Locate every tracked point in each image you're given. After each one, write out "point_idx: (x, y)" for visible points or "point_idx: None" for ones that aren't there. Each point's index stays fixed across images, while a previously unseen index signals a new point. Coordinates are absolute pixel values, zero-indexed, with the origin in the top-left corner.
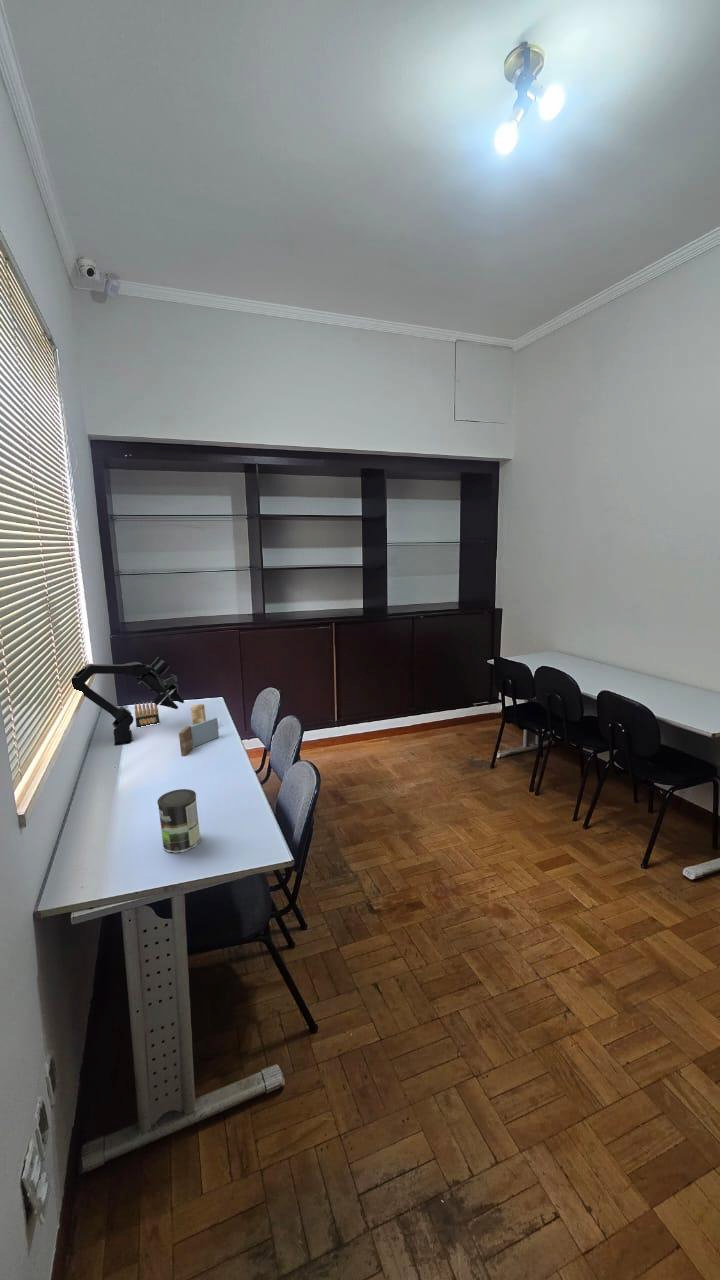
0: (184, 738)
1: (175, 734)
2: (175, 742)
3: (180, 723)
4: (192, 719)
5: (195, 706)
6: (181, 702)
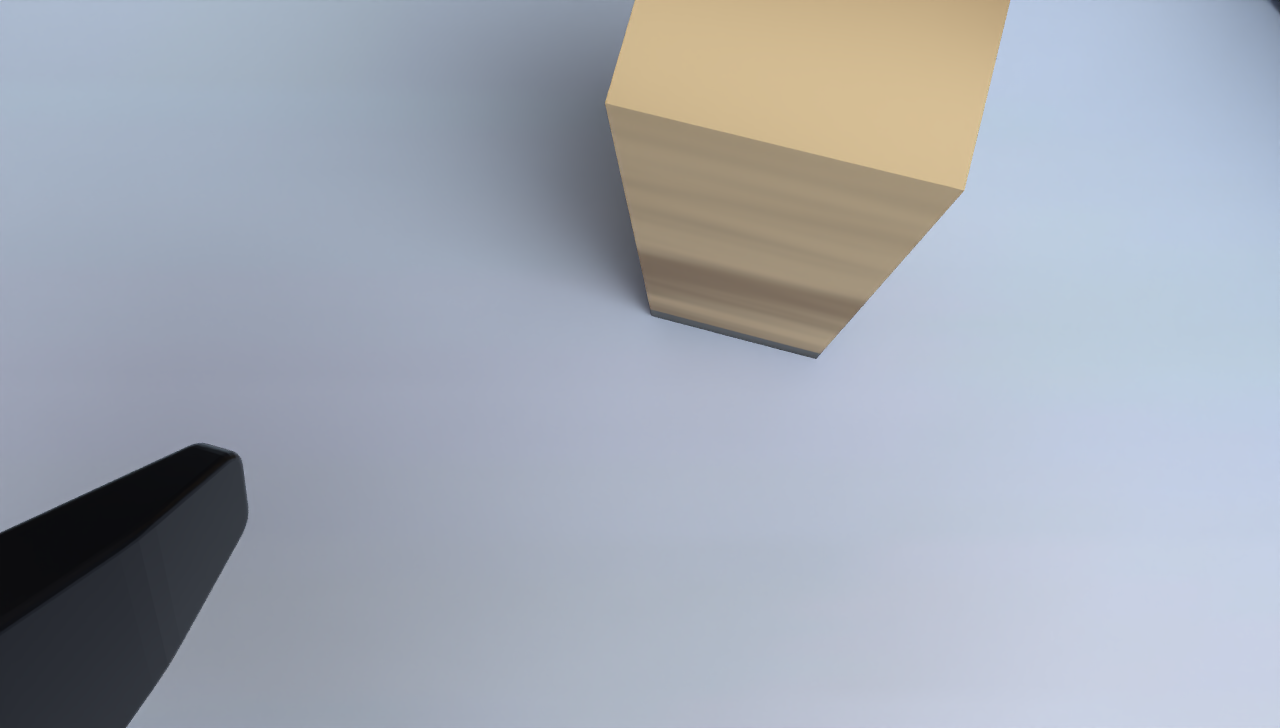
0: None
1: (707, 711)
2: (1203, 710)
3: None
4: (867, 292)
5: (893, 13)
6: (213, 575)
